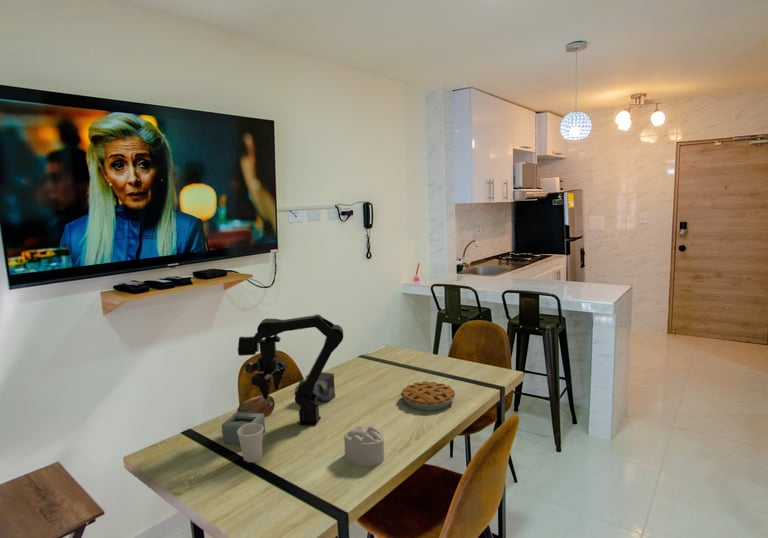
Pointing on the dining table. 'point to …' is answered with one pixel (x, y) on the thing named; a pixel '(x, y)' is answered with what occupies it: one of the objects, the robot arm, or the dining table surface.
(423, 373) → the dining table surface
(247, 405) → the tin
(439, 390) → the pie
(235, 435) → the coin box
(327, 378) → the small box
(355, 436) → the lumpy-topped squat cylinder
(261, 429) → the dixie cup
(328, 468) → the dining table surface
